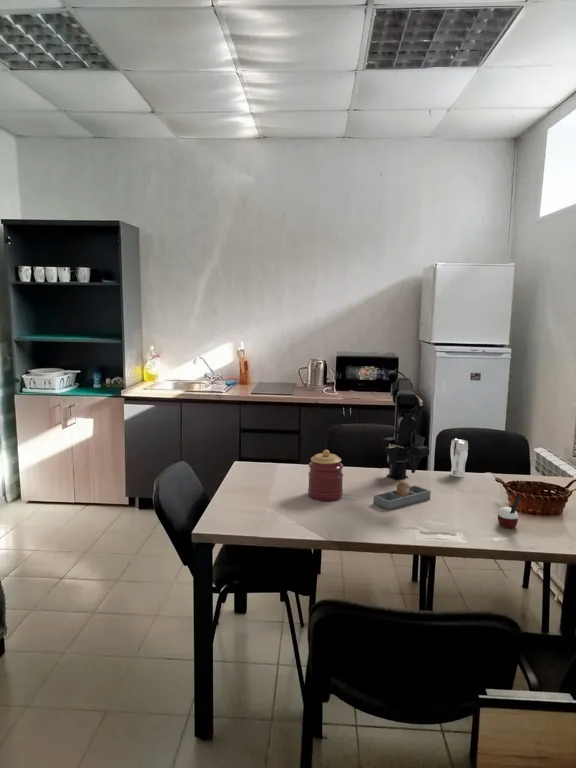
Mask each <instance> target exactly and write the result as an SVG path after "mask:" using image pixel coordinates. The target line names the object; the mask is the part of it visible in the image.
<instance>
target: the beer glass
mask: <svg viewBox="0 0 576 768" xmlns="http://www.w3.org/2000/svg"><path fill="white" fill-rule="evenodd" d="M468 451H469V442H468V440H466V439H461V438H460V439H459V438H454V439H451V444H450V460H451V461H450V463H451V470H450V473H449V474H450V476H451V477H454V478H465V477H466V471H465V470H466V464H467V463H466V462H467V459H468V455H469V454H468Z"/></svg>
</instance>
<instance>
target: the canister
mask: <svg viewBox="0 0 576 768" xmlns="http://www.w3.org/2000/svg"><path fill="white" fill-rule="evenodd" d="M341 462H342V458H341V457H339V456H338V455H337V454H334V453H330V450H328V449H324V450H323V451H322V453H321V452H320V453H317V454H314V456H312V457H311V458H310V462H309V463H308V468H309V472H308V473H307V474H308V488H307V491H308V492H307V493H308V496H309V498H311V499H313V500H315V499H316V501H321V502H332V501H338V500H340V499H341V498H342V496H343V495H344V494H343V491H344V490H343V482H344V481H343V480H344V479H343V477H344V473H343V468H344V464H343V463H341Z"/></svg>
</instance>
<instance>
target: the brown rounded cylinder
mask: <svg viewBox="0 0 576 768" xmlns="http://www.w3.org/2000/svg"><path fill="white" fill-rule="evenodd" d="M409 487H410V484H409V483H408V481H406V480H399V481H398V482H397V484H396V490H397V493H396V495H399V496H401V497H405V496H409Z"/></svg>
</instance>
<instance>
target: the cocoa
mask: <svg viewBox="0 0 576 768" xmlns="http://www.w3.org/2000/svg"><path fill="white" fill-rule="evenodd" d="M521 497H522V495H521V494H518V495H516V496H515V499H514V501H513V504H512V505H511V507H510V506H501V507H499V508H498V509H497V520H498V524H499V525H500V526H501V527H502V526H503V527H502V528H505V527H506V528H505V529H513V528H515V527H516V526H517V524H518V522H519V514H518V512H517V508H518V505H519V502H520V500H521Z"/></svg>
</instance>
